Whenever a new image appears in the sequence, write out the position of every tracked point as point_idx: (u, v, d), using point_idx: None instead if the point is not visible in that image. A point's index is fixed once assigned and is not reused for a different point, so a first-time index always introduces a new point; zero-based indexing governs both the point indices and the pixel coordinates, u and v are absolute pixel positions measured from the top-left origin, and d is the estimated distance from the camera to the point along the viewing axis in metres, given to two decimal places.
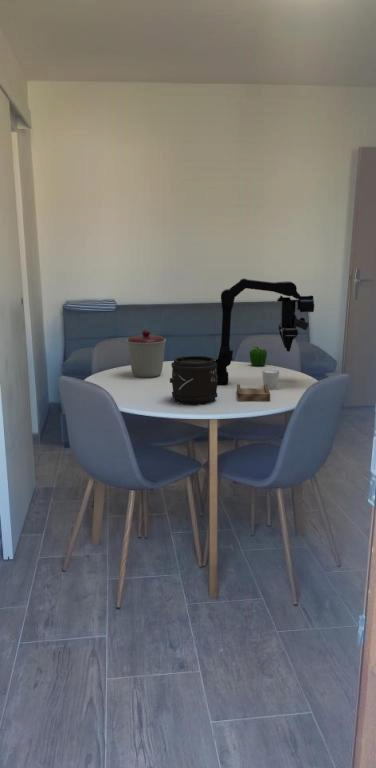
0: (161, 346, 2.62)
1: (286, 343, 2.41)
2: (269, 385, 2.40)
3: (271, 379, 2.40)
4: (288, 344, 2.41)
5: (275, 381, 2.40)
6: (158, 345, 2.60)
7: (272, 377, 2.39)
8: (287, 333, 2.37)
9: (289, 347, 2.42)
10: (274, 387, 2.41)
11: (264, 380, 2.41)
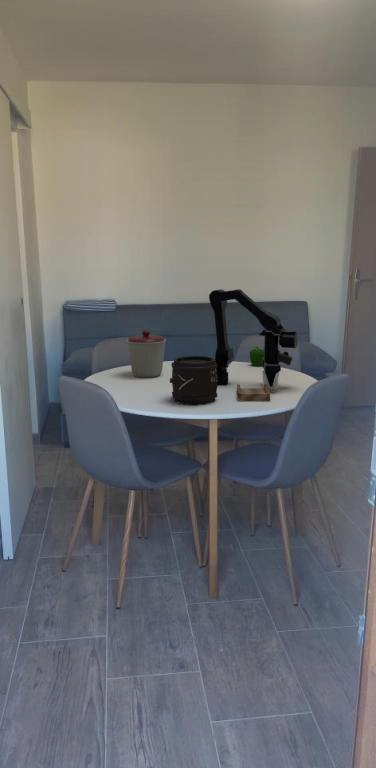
0: (161, 346, 2.62)
1: (269, 378, 2.38)
2: (269, 385, 2.40)
3: None
4: (271, 379, 2.38)
5: (275, 381, 2.40)
6: (158, 345, 2.60)
7: None
8: (270, 369, 2.32)
9: (272, 382, 2.39)
10: (274, 387, 2.41)
11: (264, 380, 2.41)
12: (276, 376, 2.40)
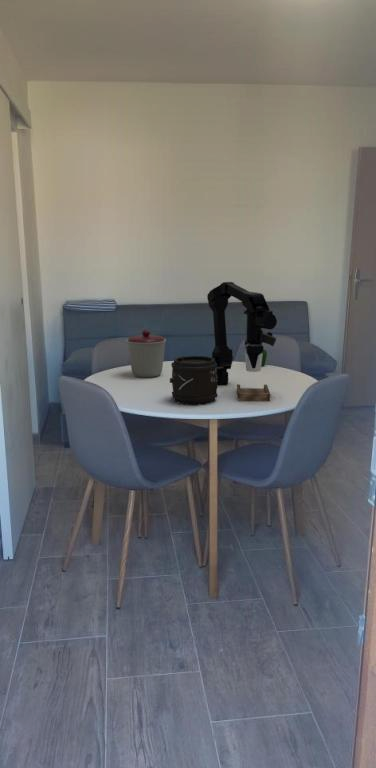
0: (161, 346, 2.62)
1: (251, 359, 2.25)
2: None
3: None
4: (253, 360, 2.25)
5: (258, 363, 2.27)
6: (158, 345, 2.60)
7: None
8: (252, 350, 2.19)
9: (254, 364, 2.26)
10: (257, 369, 2.28)
11: (247, 362, 2.28)
12: (259, 357, 2.27)
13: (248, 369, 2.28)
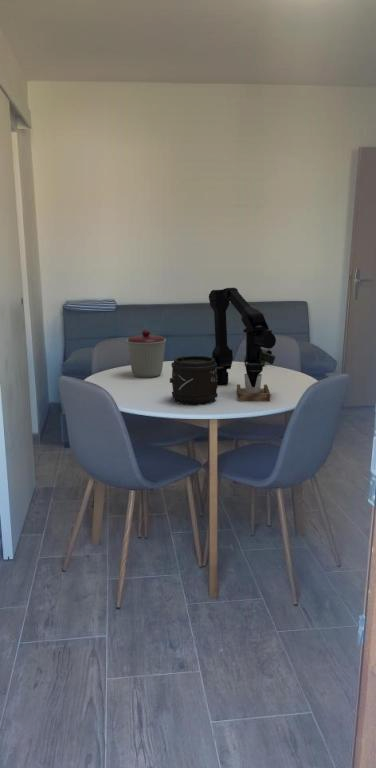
0: (161, 346, 2.62)
1: (251, 378, 2.25)
2: (251, 389, 2.29)
3: None
4: (253, 379, 2.25)
5: (257, 385, 2.29)
6: (158, 345, 2.60)
7: None
8: (251, 368, 2.20)
9: (254, 383, 2.26)
10: (256, 391, 2.29)
11: (246, 383, 2.30)
12: (258, 379, 2.28)
13: (247, 391, 2.30)
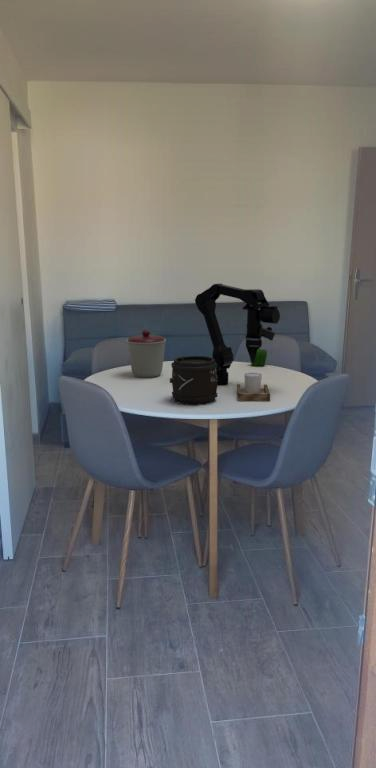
0: (161, 346, 2.62)
1: (250, 353, 2.33)
2: (251, 389, 2.29)
3: (253, 382, 2.28)
4: (252, 354, 2.33)
5: (257, 385, 2.29)
6: (158, 345, 2.60)
7: (254, 380, 2.28)
8: (250, 343, 2.28)
9: (253, 358, 2.33)
10: (256, 391, 2.29)
11: (246, 383, 2.30)
12: (258, 379, 2.28)
13: (247, 391, 2.30)
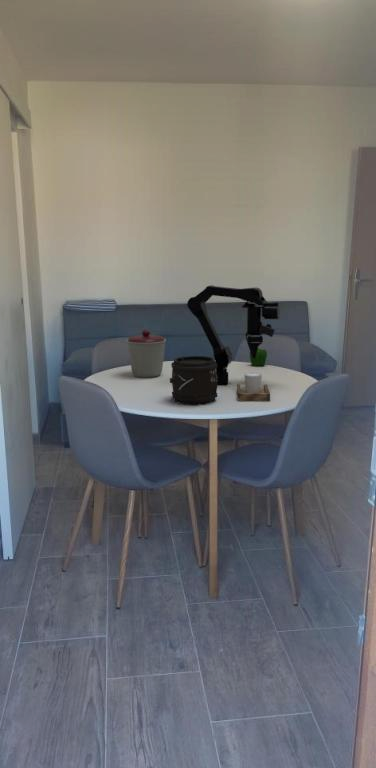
0: (161, 346, 2.62)
1: (251, 350, 2.39)
2: (251, 389, 2.29)
3: (253, 382, 2.28)
4: (253, 351, 2.39)
5: (257, 385, 2.29)
6: (158, 345, 2.60)
7: (254, 380, 2.28)
8: (252, 340, 2.34)
9: (254, 354, 2.39)
10: (256, 391, 2.29)
11: (246, 383, 2.30)
12: (258, 379, 2.28)
13: (247, 391, 2.30)
